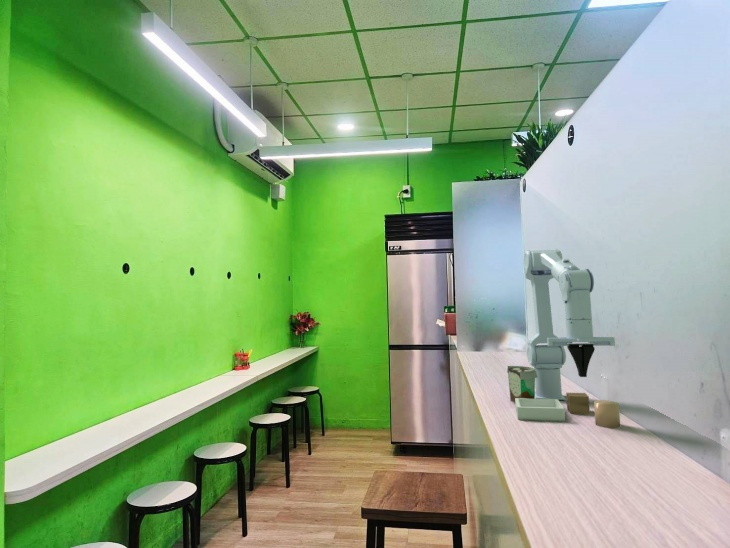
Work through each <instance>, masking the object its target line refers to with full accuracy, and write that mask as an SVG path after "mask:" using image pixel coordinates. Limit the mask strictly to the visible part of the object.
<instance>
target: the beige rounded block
mask: <svg viewBox="0 0 730 548" xmlns="http://www.w3.org/2000/svg"><path fill="white" fill-rule="evenodd" d="M593 408H594V420H595V421H594V423H595V426H597V427H600V428H606V429H618V428H621V415H620V414H621V413H620V404H619V403H618V402H617V401H614V400H613V401H611V400H595V401H594V402H593Z"/></svg>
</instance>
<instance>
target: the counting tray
mask: <svg viewBox="0 0 730 548" xmlns="http://www.w3.org/2000/svg"><path fill="white" fill-rule="evenodd" d="M514 405H515V413H516V417H517V420H518V421H540V422H541V421H543V422H545V421H546V422H566V414H565V407H564V405H562V404H561V402H560V400H558V399H536V398H535V399H529V398H515V404H514Z"/></svg>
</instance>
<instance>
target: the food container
mask: <svg viewBox="0 0 730 548" xmlns="http://www.w3.org/2000/svg"><path fill="white" fill-rule="evenodd" d="M506 372H507V374H508V375H507V378H508V386H509V387H508V388H509V399H510V400H509V401H510V402H511V403H513V404H514V405H515V398H529V399H536V398H535V392H536V389H535V378H537V373H536V371H535V369H534V367H532V366H523V365H507V371H506Z"/></svg>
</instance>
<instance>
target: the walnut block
mask: <svg viewBox="0 0 730 548" xmlns="http://www.w3.org/2000/svg"><path fill="white" fill-rule="evenodd" d="M565 395H566V408H567V411H568V412H569V414H570V415H591V412H590V411H591V410H590V398H589V395H588V394H586V392H566V394H565Z"/></svg>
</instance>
